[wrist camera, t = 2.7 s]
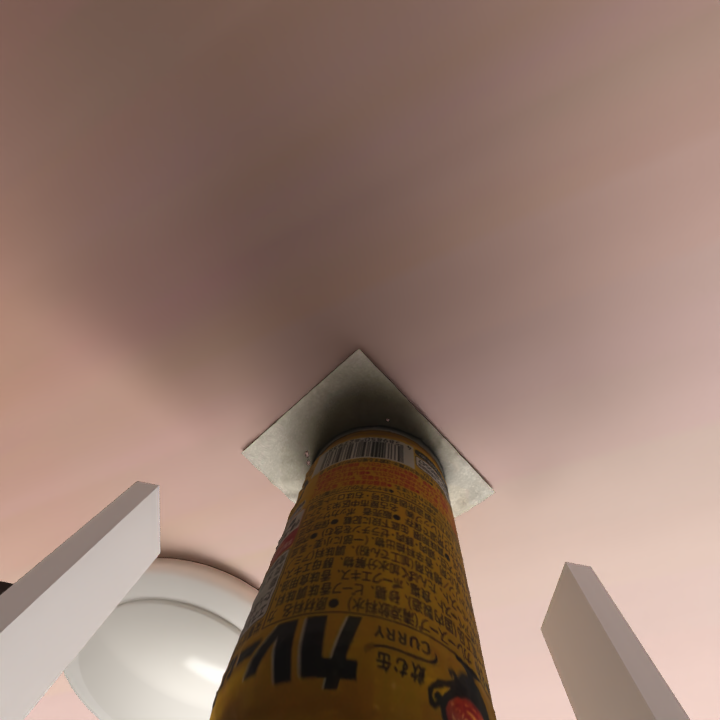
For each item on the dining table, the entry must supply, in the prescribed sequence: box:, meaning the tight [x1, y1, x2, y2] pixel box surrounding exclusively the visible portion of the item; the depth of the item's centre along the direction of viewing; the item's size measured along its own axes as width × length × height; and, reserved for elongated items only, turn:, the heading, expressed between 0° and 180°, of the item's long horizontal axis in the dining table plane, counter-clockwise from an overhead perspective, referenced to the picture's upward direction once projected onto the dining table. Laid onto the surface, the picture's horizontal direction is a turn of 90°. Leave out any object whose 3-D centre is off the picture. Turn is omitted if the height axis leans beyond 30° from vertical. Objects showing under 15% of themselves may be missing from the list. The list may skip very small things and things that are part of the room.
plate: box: [64, 558, 259, 720], centre depth 19 cm, size 14×14×1 cm
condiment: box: [209, 349, 496, 720], centre depth 10 cm, size 7×8×12 cm
